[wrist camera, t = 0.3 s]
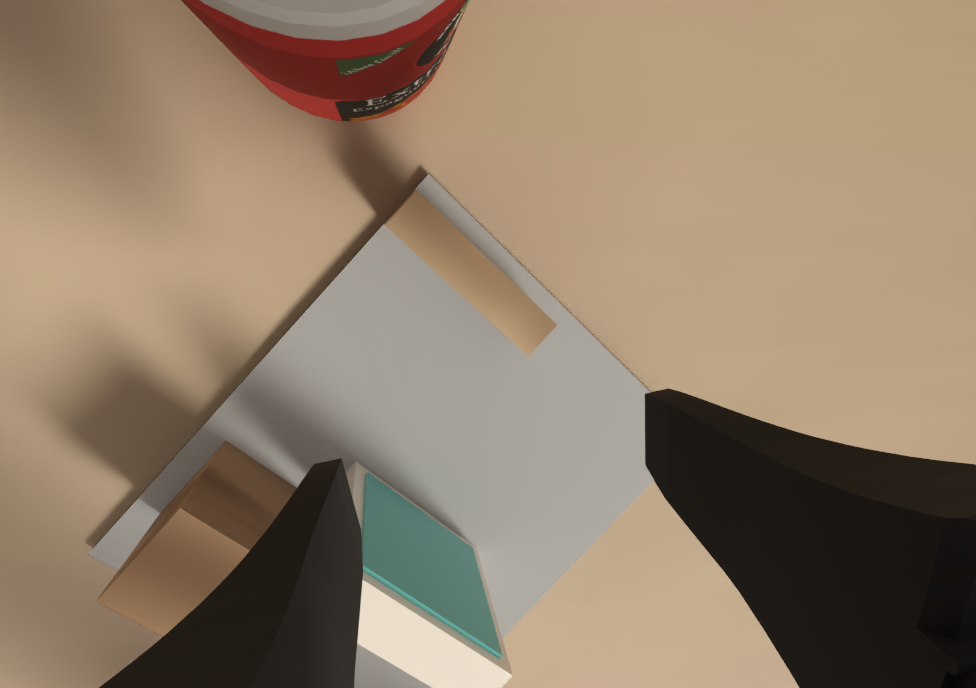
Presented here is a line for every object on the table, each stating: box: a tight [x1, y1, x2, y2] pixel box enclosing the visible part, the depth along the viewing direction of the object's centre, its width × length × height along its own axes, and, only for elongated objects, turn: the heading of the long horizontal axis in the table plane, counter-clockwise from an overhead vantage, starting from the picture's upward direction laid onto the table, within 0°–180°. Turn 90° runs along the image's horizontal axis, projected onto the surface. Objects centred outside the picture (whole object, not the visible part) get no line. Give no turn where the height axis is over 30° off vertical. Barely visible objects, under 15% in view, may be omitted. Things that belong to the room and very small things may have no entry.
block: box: [96, 441, 297, 636], centre depth 19 cm, size 4×4×5 cm
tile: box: [346, 461, 513, 688], centre depth 20 cm, size 2×7×7 cm, turn 47°
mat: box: [88, 174, 654, 688], centre depth 23 cm, size 20×17×1 cm
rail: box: [384, 190, 557, 356], centre depth 20 cm, size 2×7×2 cm, turn 46°
